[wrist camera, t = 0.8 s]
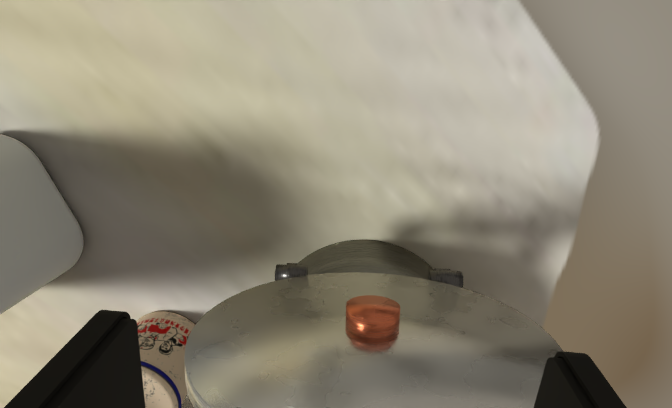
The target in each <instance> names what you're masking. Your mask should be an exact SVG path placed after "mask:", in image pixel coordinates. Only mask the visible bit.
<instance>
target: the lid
mask: <svg viewBox="0 0 672 408" xmlns="http://www.w3.org/2000/svg"><path fill="white" fill-rule="evenodd" d="M559 351H562V352H563V350H562V349H561V348H560V346H559V345H558V344H557V343H556V341H555V340H554V339H553V338H552V337H551V336H550V335H549V334H548V333H547V332H546V331H545V330H544V329H543V328H542V327H540V326H539V325H538V324H536V323H535V322H534V321H532V320H531V319H530V318H528V317H526V316H525V315H523V314H521V313H520V312H518V311H517V310H515V309H513V308H511V307H509V306H507V305H505V304H503V303H501V302H499V301H496V300H494V299H492V298H489V297H487V296H484V295H482V294H479V293H476V292H473V291H470V290H467V289H464V288H460V287H457V286H454V285H450V284H446V283H441V282H437V281H432V280H427V279H422V278H416V277H409V276H402V275H393V274H382V273H359V272H346V273H325V274H314V275H305V276H299V277H293V278H287V279H282V280H278V281H274V282H270V283H266V284H263V285H259V286H256V287H253V288H251V289H248V290H245V291H243V292H240V293H238V294H236V295H234V296H232V297H230V298H228V299H226V300H225V301H223V302H221V303H219V304H218V305H216V306H215V307H214V308H212V309H211V310H210V311H208V312H207V313H206V314H205V315H204V316H203V317H202V318H201V319H200V320H199V321H198V322H197V323H196V325H195V326H194V328H193V329H192V331H191V332H190V334H189V337H188V340H187V342H186V345H185V356H184V362H185V382H186V387H187V393H188V397H189V399H190V401H191V403H192V405H193V408H534V404H535V401H536V397H537V393H538V390H539V386H540V383H541V379H542V375H543V372H544V368H545V365H546V362H547V359H548V358H550V357H554V356H555V354H556V353H557V352H559Z"/></svg>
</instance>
